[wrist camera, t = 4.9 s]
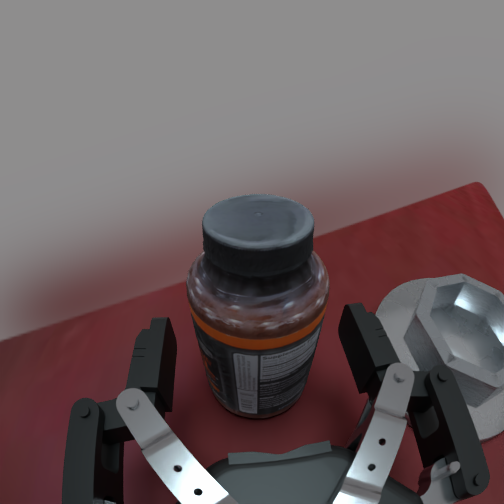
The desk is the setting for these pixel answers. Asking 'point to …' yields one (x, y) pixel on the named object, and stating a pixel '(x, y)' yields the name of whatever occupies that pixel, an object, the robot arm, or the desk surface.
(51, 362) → the desk surface
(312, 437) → the desk surface
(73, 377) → the desk surface
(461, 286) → the steel collar
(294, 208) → the supplement bottle
